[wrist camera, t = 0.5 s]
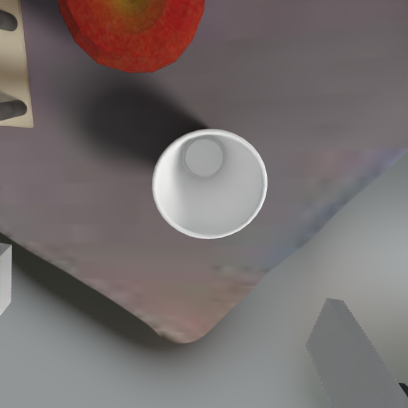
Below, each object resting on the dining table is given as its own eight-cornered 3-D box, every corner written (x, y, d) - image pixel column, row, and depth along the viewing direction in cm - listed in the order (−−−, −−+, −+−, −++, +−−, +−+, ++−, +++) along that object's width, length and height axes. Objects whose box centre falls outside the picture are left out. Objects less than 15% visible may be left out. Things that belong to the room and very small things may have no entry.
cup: (155, 189, 39) (144, 230, 29) (168, 105, 36) (160, 118, 26) (235, 202, 40) (251, 246, 30) (255, 122, 37) (281, 141, 27)
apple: (172, -76, 30) (163, -165, 19) (218, 44, 34) (233, 29, 22) (67, -20, 31) (-1, -72, 20) (123, 90, 35) (92, 98, 24)
